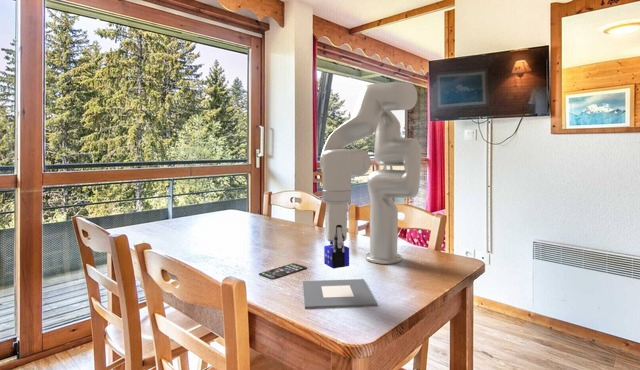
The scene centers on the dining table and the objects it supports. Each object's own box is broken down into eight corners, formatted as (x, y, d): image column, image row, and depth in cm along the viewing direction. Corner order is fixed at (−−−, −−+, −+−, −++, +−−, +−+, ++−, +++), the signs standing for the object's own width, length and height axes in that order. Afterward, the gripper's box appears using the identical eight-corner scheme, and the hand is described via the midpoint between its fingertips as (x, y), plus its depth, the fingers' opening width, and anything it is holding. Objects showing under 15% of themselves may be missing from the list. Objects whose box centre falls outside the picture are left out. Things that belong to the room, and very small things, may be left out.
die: (333, 268, 99) (333, 250, 98) (324, 263, 103) (324, 245, 102) (349, 266, 101) (349, 247, 100) (339, 261, 105) (339, 243, 105)
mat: (303, 282, 111) (303, 280, 111) (363, 280, 112) (363, 278, 112) (305, 308, 93) (304, 306, 93) (377, 305, 95) (377, 303, 94)
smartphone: (257, 273, 119) (293, 262, 130) (257, 275, 119) (293, 264, 130) (272, 279, 114) (308, 267, 124) (272, 281, 114) (308, 269, 124)
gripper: (320, 193, 109) (320, 254, 110) (325, 201, 91) (325, 273, 93) (346, 192, 109) (346, 253, 111) (356, 200, 92) (355, 272, 93)
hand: (336, 262), depth 102 cm, fingers closed on die, 6 cm apart
